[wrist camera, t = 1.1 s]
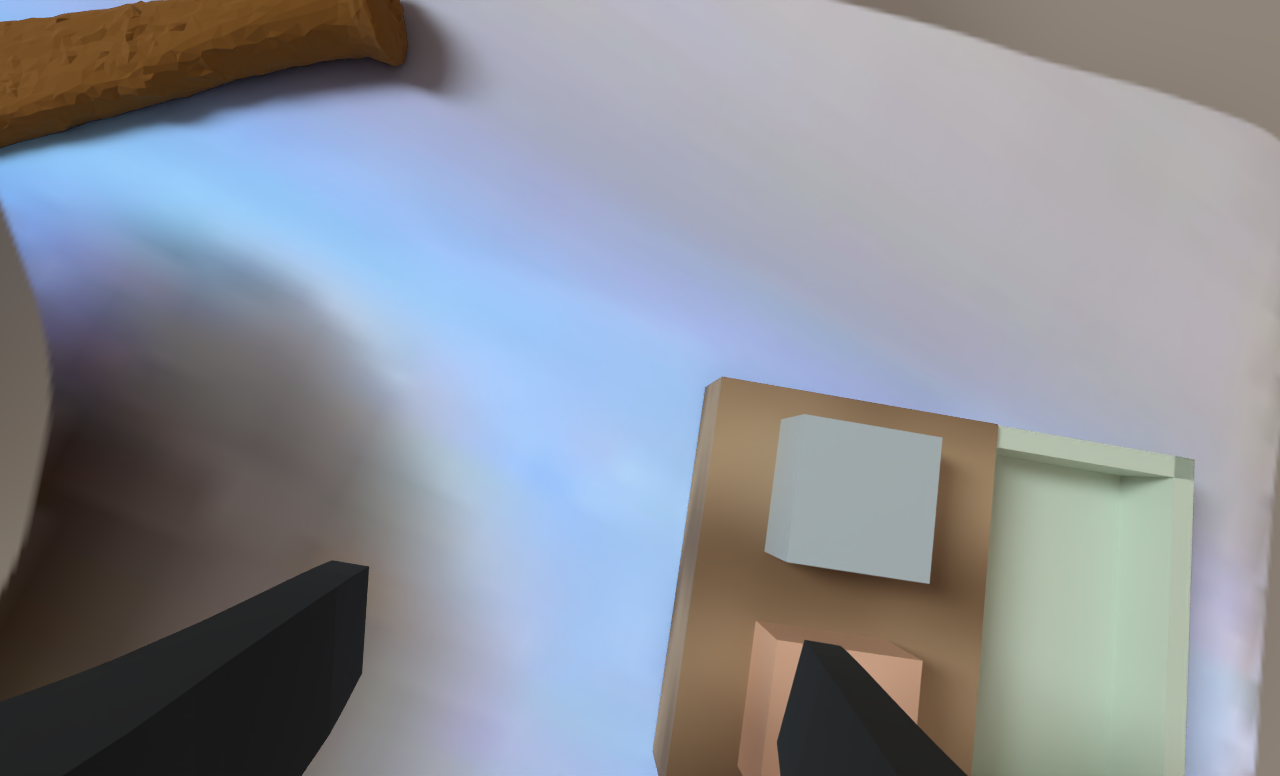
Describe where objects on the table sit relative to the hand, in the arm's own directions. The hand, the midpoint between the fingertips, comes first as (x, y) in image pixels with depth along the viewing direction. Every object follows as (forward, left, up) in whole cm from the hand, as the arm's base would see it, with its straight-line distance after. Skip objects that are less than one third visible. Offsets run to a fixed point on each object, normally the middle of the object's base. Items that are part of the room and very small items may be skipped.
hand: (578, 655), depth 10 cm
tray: (0, -16, -10) cm, 19 cm away
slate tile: (+3, -7, -8) cm, 11 cm away
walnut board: (0, -8, -10) cm, 13 cm away
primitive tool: (+13, +18, -11) cm, 25 cm away
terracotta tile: (-3, -7, -8) cm, 11 cm away
